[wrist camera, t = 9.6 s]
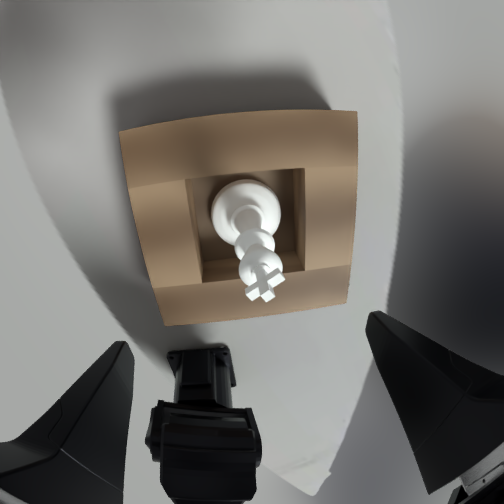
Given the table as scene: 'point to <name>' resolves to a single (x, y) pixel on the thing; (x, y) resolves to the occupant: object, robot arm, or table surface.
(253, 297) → the chess piece
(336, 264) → the tan wooden square block
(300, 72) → the table surface
